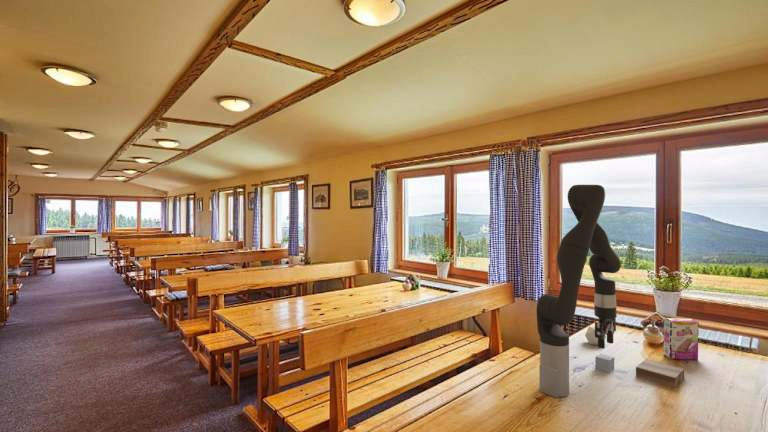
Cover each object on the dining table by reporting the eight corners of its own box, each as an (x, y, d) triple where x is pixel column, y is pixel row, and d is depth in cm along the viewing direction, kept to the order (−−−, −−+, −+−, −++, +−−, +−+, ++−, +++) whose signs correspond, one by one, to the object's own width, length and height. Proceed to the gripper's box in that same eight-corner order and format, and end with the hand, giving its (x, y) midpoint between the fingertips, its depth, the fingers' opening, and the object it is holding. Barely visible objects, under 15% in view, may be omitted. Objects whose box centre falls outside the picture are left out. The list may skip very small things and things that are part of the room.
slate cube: (609, 373, 142) (609, 360, 142) (595, 369, 146) (595, 356, 146) (614, 369, 145) (614, 357, 145) (600, 365, 149) (600, 353, 149)
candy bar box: (670, 359, 154) (670, 320, 154) (662, 355, 159) (662, 317, 159) (699, 360, 153) (699, 321, 153) (690, 356, 158) (690, 318, 158)
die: (599, 350, 167) (611, 333, 168) (581, 337, 172) (592, 320, 172) (597, 350, 174) (609, 334, 175) (580, 338, 179) (591, 322, 179)
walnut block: (675, 389, 129) (675, 377, 129) (635, 377, 139) (635, 367, 139) (684, 379, 137) (684, 368, 137) (646, 368, 146) (646, 358, 146)
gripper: (608, 310, 138) (609, 352, 138) (622, 303, 146) (623, 343, 147) (587, 306, 144) (588, 347, 144) (602, 300, 152) (602, 338, 153)
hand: (605, 345), depth 145 cm, fingers open, 8 cm apart
